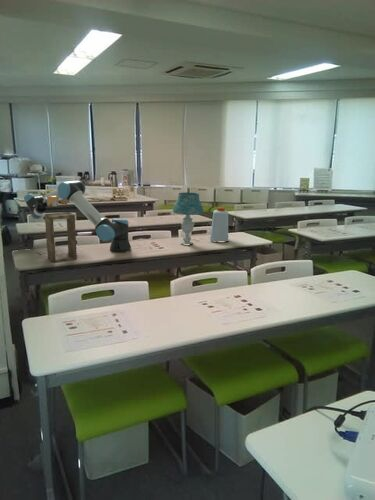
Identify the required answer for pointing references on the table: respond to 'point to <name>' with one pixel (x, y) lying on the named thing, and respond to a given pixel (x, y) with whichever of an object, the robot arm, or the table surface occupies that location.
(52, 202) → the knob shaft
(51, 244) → the stand
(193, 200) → the table lamp
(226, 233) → the plastic bottle
